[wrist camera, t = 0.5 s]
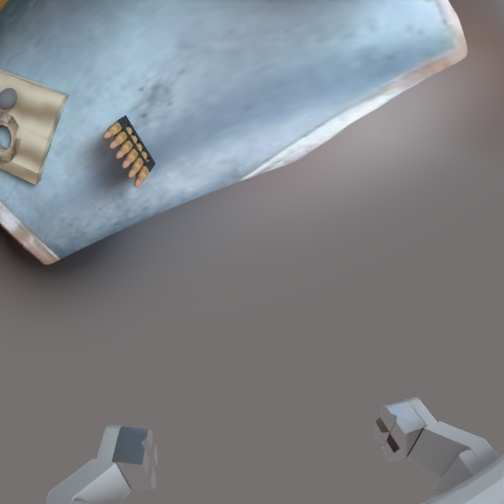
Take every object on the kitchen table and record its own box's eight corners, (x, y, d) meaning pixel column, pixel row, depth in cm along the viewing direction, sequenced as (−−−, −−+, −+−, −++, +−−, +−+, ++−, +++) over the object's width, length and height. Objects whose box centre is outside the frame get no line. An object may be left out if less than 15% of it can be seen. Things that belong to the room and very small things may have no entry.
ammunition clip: (155, 163, 52) (144, 188, 42) (147, 168, 52) (134, 194, 42) (125, 115, 46) (105, 128, 36) (117, 120, 46) (95, 135, 36)
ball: (9, 84, 34) (-3, 87, 31) (23, 89, 36) (12, 92, 33) (2, 104, 36) (-9, 108, 33) (16, 110, 38) (5, 114, 34)
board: (-11, 65, 32) (-18, 66, 30) (69, 94, 41) (63, 96, 39) (-31, 145, 40) (-38, 149, 37) (40, 180, 48) (35, 184, 46)
